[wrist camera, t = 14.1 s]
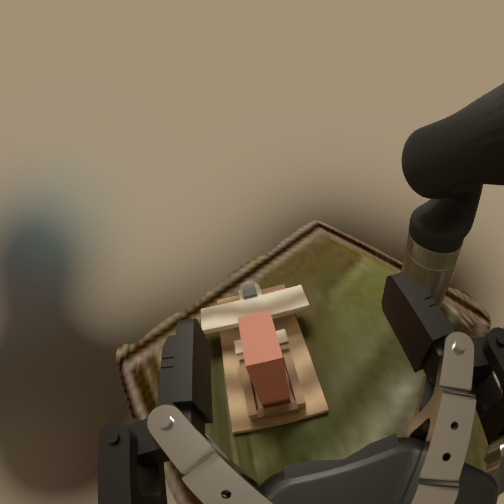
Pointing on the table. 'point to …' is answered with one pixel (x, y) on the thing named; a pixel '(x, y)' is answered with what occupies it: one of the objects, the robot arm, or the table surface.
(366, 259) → the table surface
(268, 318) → the terracotta rectangular block
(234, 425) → the jig
